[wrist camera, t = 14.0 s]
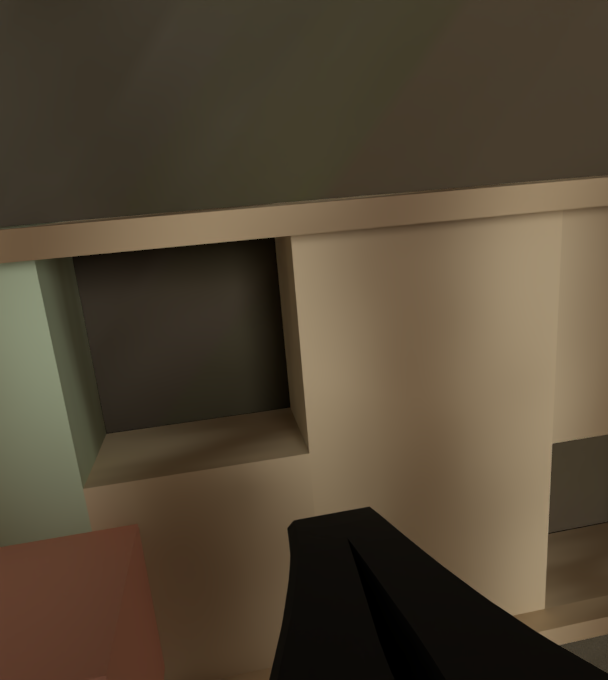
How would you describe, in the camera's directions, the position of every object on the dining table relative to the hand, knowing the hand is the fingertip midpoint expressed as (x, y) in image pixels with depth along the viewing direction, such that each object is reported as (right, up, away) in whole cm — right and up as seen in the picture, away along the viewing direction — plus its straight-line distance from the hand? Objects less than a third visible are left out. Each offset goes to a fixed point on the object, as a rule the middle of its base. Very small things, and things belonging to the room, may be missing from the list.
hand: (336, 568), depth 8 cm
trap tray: (+2, +2, +8) cm, 8 cm away
